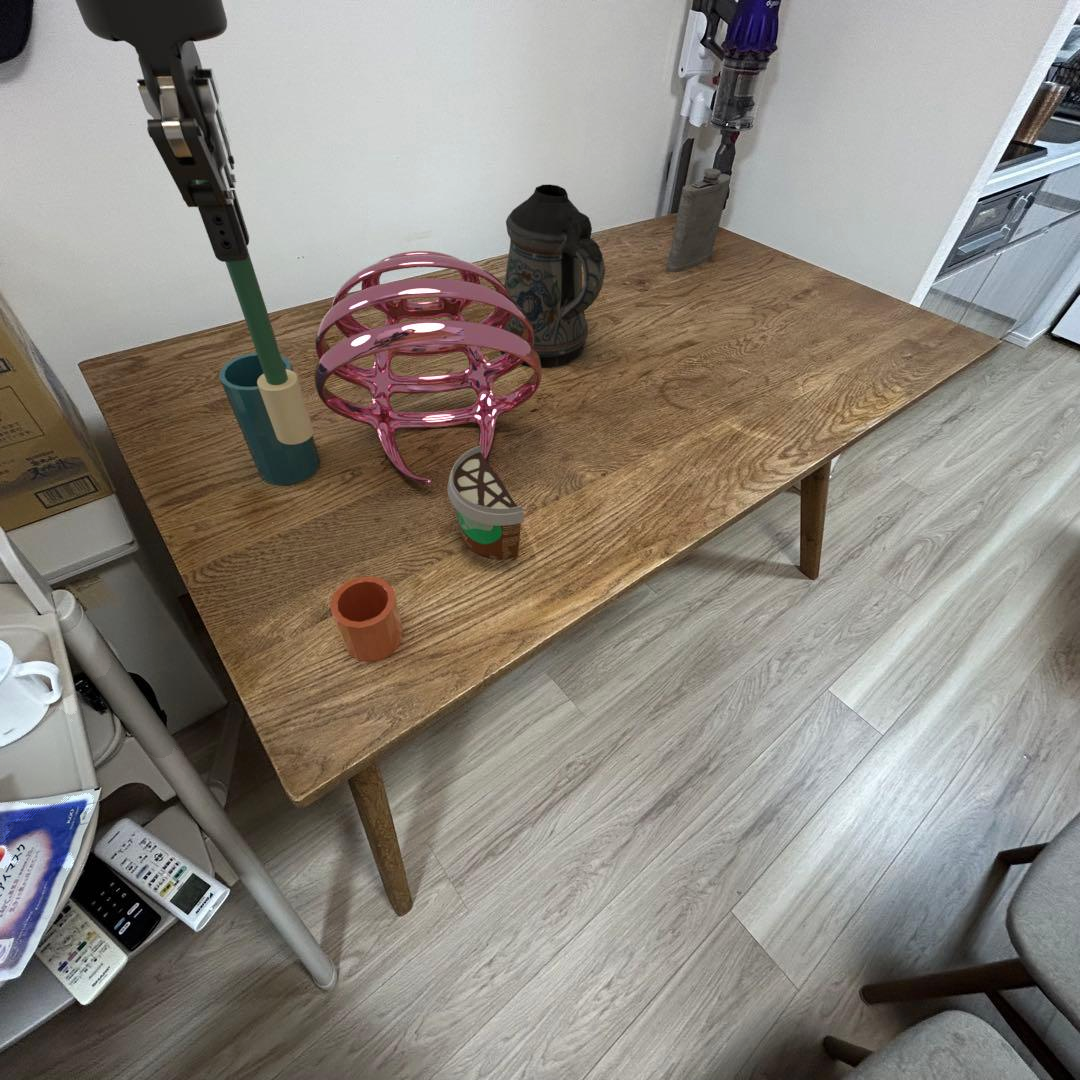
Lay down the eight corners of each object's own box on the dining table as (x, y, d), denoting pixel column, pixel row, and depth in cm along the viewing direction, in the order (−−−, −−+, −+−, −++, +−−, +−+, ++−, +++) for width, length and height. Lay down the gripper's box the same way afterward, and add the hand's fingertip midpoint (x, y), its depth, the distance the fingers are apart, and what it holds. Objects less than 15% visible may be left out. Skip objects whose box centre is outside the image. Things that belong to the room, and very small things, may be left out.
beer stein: (514, 312, 113) (516, 162, 94) (613, 335, 109) (635, 183, 90) (478, 356, 102) (472, 196, 84) (585, 382, 99) (604, 221, 80)
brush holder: (347, 670, 62) (332, 633, 57) (342, 622, 66) (328, 583, 61) (407, 656, 63) (398, 619, 58) (399, 610, 67) (390, 571, 62)
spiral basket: (534, 426, 59) (501, 173, 62) (272, 471, 63) (254, 231, 66) (566, 482, 86) (542, 305, 90) (383, 511, 90) (366, 340, 93)
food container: (437, 516, 77) (430, 456, 70) (481, 501, 79) (479, 442, 72) (475, 584, 70) (471, 526, 62) (522, 567, 72) (524, 508, 65)
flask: (716, 256, 134) (740, 165, 120) (677, 274, 127) (697, 180, 113) (703, 251, 135) (725, 160, 122) (664, 268, 129) (682, 174, 115)
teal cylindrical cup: (258, 490, 79) (217, 393, 68) (259, 451, 84) (221, 356, 73) (321, 480, 81) (291, 384, 69) (318, 443, 86) (290, 348, 74)
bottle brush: (276, 447, 56) (180, 187, 39) (276, 425, 58) (186, 169, 42) (314, 442, 57) (235, 184, 40) (313, 420, 59) (238, 167, 42)
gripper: (73, -93, 35) (189, 219, 48) (4, -75, 27) (168, 300, 40) (210, -88, 37) (287, 214, 50) (187, -69, 28) (287, 290, 41)
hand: (234, 251), depth 45 cm, fingers closed on bottle brush, 2 cm apart
